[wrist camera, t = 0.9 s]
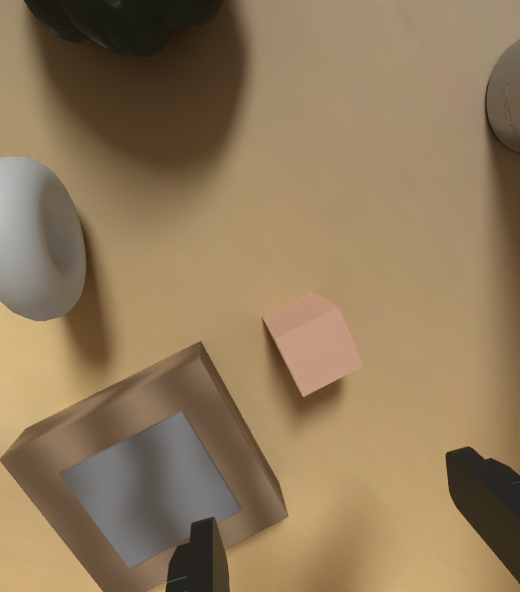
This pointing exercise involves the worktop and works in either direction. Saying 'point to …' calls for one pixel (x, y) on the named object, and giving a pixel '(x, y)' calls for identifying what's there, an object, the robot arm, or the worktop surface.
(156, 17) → the squash
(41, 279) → the donut
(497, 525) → the robot arm
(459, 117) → the worktop surface
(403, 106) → the worktop surface
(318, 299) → the terracotta block
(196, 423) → the walnut base
